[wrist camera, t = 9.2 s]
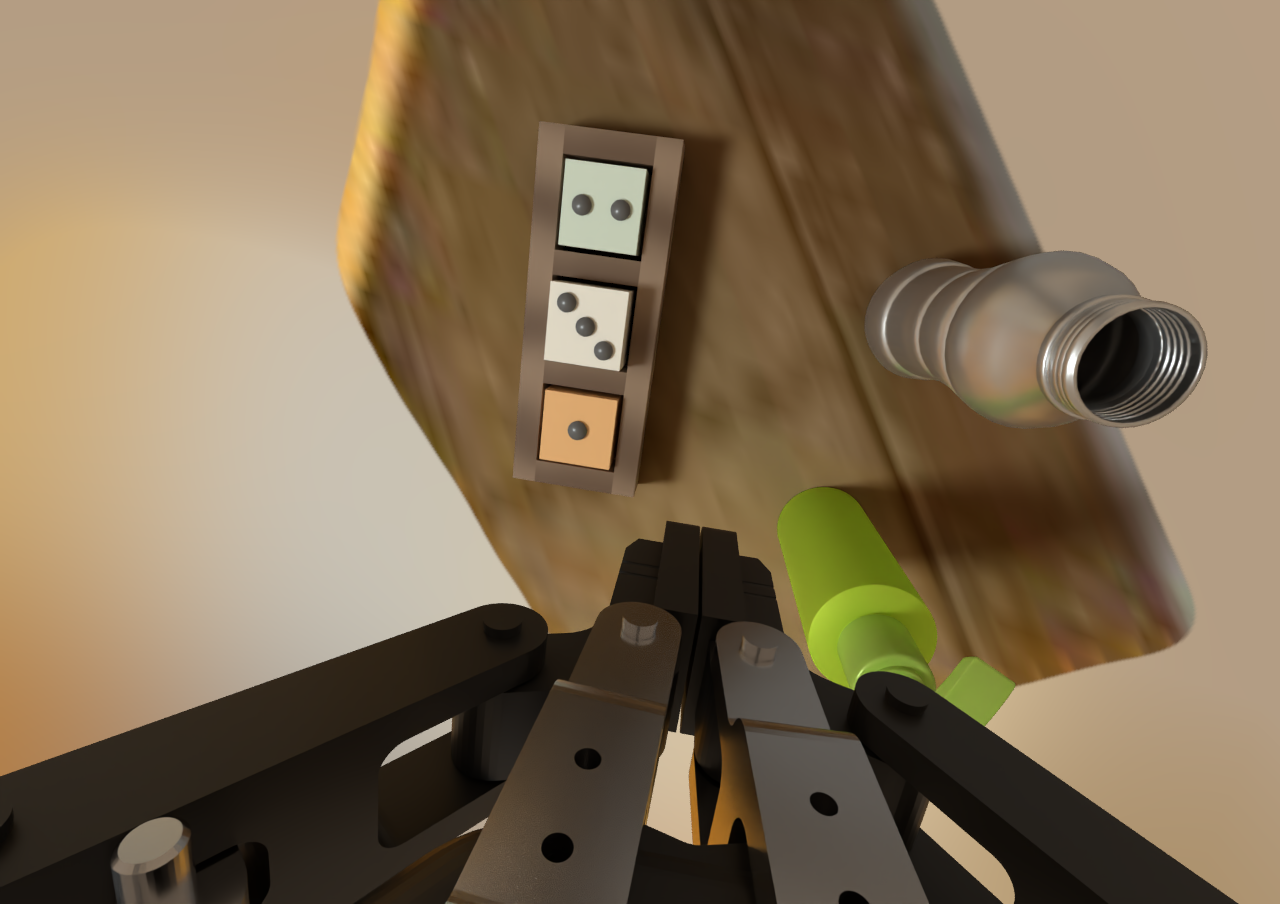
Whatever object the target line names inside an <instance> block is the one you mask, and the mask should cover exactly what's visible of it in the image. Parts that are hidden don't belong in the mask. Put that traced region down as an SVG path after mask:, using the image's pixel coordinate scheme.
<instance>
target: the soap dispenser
mask: <svg viewBox="0 0 1280 904" xmlns="http://www.w3.org/2000/svg"><path fill="white" fill-rule="evenodd" d="M777 532H778V538H779V542H780V545H781V549H782V553H783V556H784V560H785V564H786V567H787V571H788V575H789V578H790V582H791V586H792V589H793V593H794V597H795V600H796V604H797V608H798V611H799V615H800V619H801V622H802V626H803V630H804V634H805V637H806V641H807V645H808V648H809V652H810V655H811V658H812V660H813V662H814V664H815V665H816V667H817V668H818V669H819V671H820V672H821V673H822V674H823V675H824V676H825V677H826V678H828V679H829V680H830V681H832V682H834V683H837V684H839V685H842V686H844V687H847V688H850V689H852V690H854V688H855V685H856V682H857V680H858V678H859V677H860V676H862V675H863V674H865V673H869V672H874V671H885V672H892V673H896V674H900V675H903V676H906V677H909V678H911V679H914V680H916V681H918V682H920V683H922V684H924V685H925V686H927V687H929V688H930V689H932V690H933V691H935V692H936V693H937V694H939V695H940V696H942V697H943V698H945V699H946V700H947V701H949V702H950V703H952V704H953V705H955V706H956V707H957V708H959V709H960V710H962V711H963V712H965V713H966V714H968V715H969V716H970V717H972V718H973V719H975V720H976V721H978V722H979V723H980V724H982V725H983V726H985V725H986V724H987V723H988V722H989V721H990V720H991V718H992V717H993V716H994V715H995V714H996V712H997V711H998V710H999V709H1000V707H1001V706H1002V705H1003V703H1004V702H1005V701H1006V699H1007V698H1008V697H1009V695H1010V694H1011V692H1012V691H1013V689H1014V688H1015V683H1014V682H1013V681H1011V680H1010V679H1008V678H1007V677H1006V676H1004V675H1003V674H1001V673H1000V672H999V671H997V670H996V669H994V668H993V667H991V666H990V665H988V664H987V663H985V662H984V661H982V660H981V659H979V658H978V657H966V658H963V659H962V660H961V662H960V663H959V664H958V665H957V667H956V668H955V669H954V670H953V672H952V673H951V674H950V675H949V676H948V678H947V679H946V680H945V681H944V682H943V683H942V684H941V685H940V686H939V688H938V689H937V690H936V684H935V679H934V676H933V674H932V672H931V670H930V668H929V666H928V663H929V662H930V660H931V658H932V656H933V654H934V651H935V648H936V643H937V629H936V625H935V621H934V619H933V617H932V614H931V613H930V611H929V609H928V608H927V606H926V605H925V603H924V602H923V600H922V599H921V597H920V596H919V594H918V593H917V591H916V590H915V588H914V587H913V585H912V584H911V582H910V580H909V579H908V577H907V576H906V574H905V573H904V571H903V570H902V568H901V567H900V565H899V564H898V562H897V561H896V559H895V558H894V556H893V555H892V553H891V552H890V550H889V548H888V547H887V545H886V544H885V542H884V541H883V539H882V538H881V536H880V535H879V533H878V532H877V530H876V529H875V527H874V526H873V524H872V523H871V521H870V520H869V518H868V516H867V515H866V513H865V512H864V510H863V509H862V507H861V506H860V504H859V503H858V502H857V501H856V500H855V499H854V498H853V497H852V496H850V495H849V494H847V493H846V492H844V491H841V490H838V489H835V488H829V487H818V488H812V489H808V490H806V491H803V492H801V493H799V494H798V495H796V496H795V497H793V498H792V499H791V500H790V501H789V502H788V503H787V504H786V505H785V507H784V508H783V510H782V512H781V514H780V516H779V519H778V525H777Z"/></svg>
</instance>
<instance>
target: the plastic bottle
mask: <svg viewBox="0 0 1280 904" xmlns="http://www.w3.org/2000/svg"><path fill="white" fill-rule="evenodd" d="M865 334H866V339H867V342H868V344H869V347H870V349H871V351H872V353H873V354H874V356H875V357H876V359H877V360H878V361H879V362H880V363H881V364H882V365H883V366H884V367H885V368H886V369H887V370H889V371H891V372H892V373H894V374H896V375H899V376H902V377H905V378H912V379H921V380H932V379H933V380H937V381H940V382H942V383H943V384H945V385H947V386H948V387H949V388H950V389H951V390H952V391H953V392H954V393H955V394H956V395H957V396H958V397H959V398H960V399H961V400H962V401H963V402H964V403H965V404H967V405H968V406H969V407H970V408H971V409H972V410H974V411H975V412H977V413H978V414H980V415H981V416H983V417H985V418H987V419H988V420H990V421H992V422H994V423H997V424H1000V425H1004V426H1007V427H1014V428H1023V429H1026V428H1042V427H1055V426H1059V425H1063V424H1067V423H1071V422H1073V421H1075V420H1078V419H1082V420H1090V421H1092V422H1095V423H1098V424H1101V425H1104V426H1110V427H1119V428H1128V427H1137V426H1141V425H1145V424H1149V423H1151V422H1154V421H1156V420H1158V419H1160V418H1162V417H1164V416H1166V415H1167V414H1169V413H1171V412H1172V411H1174V410H1175V409H1176V408H1177V407H1178V406H1180V405H1181V404H1182V403H1183V402H1184V401H1185V400H1186V399H1187V398H1188V396H1189V395H1190V394H1191V393H1192V392H1193V390H1194V389H1195V387H1196V386H1197V384H1198V382H1199V381H1200V379H1201V376H1202V374H1203V371H1204V369H1205V365H1206V360H1207V341H1206V337H1205V333H1204V331H1203V329H1202V327H1201V325H1200V324H1199V322H1198V321H1197V320H1196V319H1195V318H1194V317H1193V316H1192V315H1191V314H1190V313H1189V312H1187V311H1186V310H1184V309H1182V308H1180V307H1178V306H1176V305H1173V304H1169V303H1166V302H1162V301H1152V300H1150V299H1147V298H1143V297H1141V296H1140V294H1139V292H1138V291H1137V289H1136V287H1135V285H1134V284H1133V283H1132V282H1131V281H1130V280H1129V279H1128V278H1127V277H1126V275H1125V274H1124V273H1122V272H1121V271H1119V270H1117V269H1116V268H1114V267H1113V266H1111V265H1109V264H1108V263H1106V262H1104V261H1102V260H1100V259H1099V258H1096V257H1093V256H1090V255H1087V254H1084V253H1081V252H1071V251H1054V252H1045V253H1040V254H1034V255H1029V256H1026V257H1023V258H1019V259H1016V260H1013V261H1011V262H1007V263H1005V264H1002V265H999V266H996V267H993V268H985V269H976V268H972V267H970V266H969V265H966V264H963V263H960V262H957V261H954V260H950V259H943V258H931V259H923V260H920V261H917V262H914V263H911V264H909V265H907V266H905V267H903V268H901V269H900V270H898V271H897V272H895V273H894V274H892V275H891V276H890V277H889V278H887V279H886V280H885V281H884V282H883V283H882V284H881V285H880V286H879V288H878V289H877V290H876V292H875V294H874V295H873V297H872V298H871V301H870V303H869V305H868V308H867V312H866V317H865Z"/></svg>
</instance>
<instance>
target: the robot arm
mask: <svg viewBox="0 0 1280 904" xmlns="http://www.w3.org/2000/svg"><path fill="white" fill-rule="evenodd" d="M680 708H681V722H680V733H682V734H688V735H693V736H694V749H693V754H692V759H691V765H690V769H689V789H690V805H691V821H692V839H693V845H692V844H688V843H685V842H683V841H680V840H678V839H676V838H674V837H671V836H669V835H667V834H665V833H662V832H660V831H658V830H656V829H654V828H651V827H649V826H647V825H646V824H647V819H648V813H649V808H650V803H651V798H652V793H653V787H654V782H655V777H656V772H657V766H658V761H659V757H660V756H661V754H662V753H663V751H664V749H665V745H666V739H667V734H668V731H671V732H676V730H677V724H678V719H679V714H680ZM450 718H452V731H451V732H449V733H447V734H445V735H443V736H441V737H439V738H437V739H435V740H433V741H431V742H429V743H427V744H425V745H423V746H421V747H419V748H417V749H415V750H413V751H411V752H409V753H408V754H405V755H403V756H401V757H399V758H397V759H395V760H393V761H391V762H390V763H387V764H385V765H384V766H382V767H381V765H382V763H383V761H384V760H385V758H386V757H387V756H388V754H389V753H390V752H391V751H392V750H393V749H394V748H395V747H396V746H397V745H399V744H400V743H402V742H403V741H405V740H407V739H409V738H411V737H413V736H415V735H417V734H419V733H421V732H423V731H425V730H428V729H430V728H432V727H434V726H436V725H438V724H440V723H442V722H444V721H446V720H448V719H450ZM929 801H930V802H932V803H933V804H934V805H935V806H936V807H937V808H939V809H940V810H941V811H942V812H943V813H944V814H946V815H947V816H948V817H949V818H950V819H951V820H953V821H954V822H955V823H956V824H957V825H958V826H959V827H961V828H962V829H963V830H964V831H965V832H967V833H968V834H969V835H970V836H971V837H972V838H974V839H975V840H976V841H977V842H978V843H979V844H980V845H982V846H983V847H984V848H985V849H986V850H987V851H989V852H990V853H991V854H992V855H993V856H994V857H995V858H996V859H997V860H998V861H999V862H1000V863H1001V864H1002V866H1003V867H1004V869H1005V870H1006V872H1007V873H1008V875H1009V877H1010V879H1011V881H1012V884H1013V887H1014V892H1015V901H1014V904H1238V903H1236V902H1235V901H1234V900H1232V899H1231V898H1229V897H1228V896H1227V895H1225V894H1224V893H1222V892H1221V891H1219V890H1218V889H1217V888H1215V887H1214V886H1212V885H1211V884H1209V883H1208V882H1206V881H1205V880H1203V879H1202V878H1201V877H1199V876H1198V875H1196V874H1195V873H1194V872H1192V871H1191V870H1189V869H1188V868H1187V867H1185V866H1184V865H1182V864H1181V863H1179V862H1178V861H1177V860H1175V859H1174V858H1172V857H1171V856H1169V855H1167V854H1166V853H1165V852H1163V851H1162V850H1161V849H1159V848H1158V847H1156V846H1155V845H1154V844H1152V843H1151V842H1149V841H1148V840H1146V839H1145V838H1144V837H1142V836H1141V835H1139V834H1138V833H1136V832H1135V831H1134V830H1132V829H1130V828H1129V827H1128V826H1126V825H1125V824H1124V823H1122V822H1120V821H1119V820H1118V819H1116V818H1115V817H1113V816H1112V815H1111V814H1109V813H1108V812H1106V811H1105V810H1103V809H1102V808H1101V807H1099V806H1098V805H1096V804H1095V803H1093V802H1092V801H1091V800H1089V799H1088V798H1086V797H1085V796H1083V795H1082V794H1080V793H1079V792H1078V791H1076V790H1075V789H1073V788H1072V787H1071V786H1069V785H1068V784H1066V783H1065V782H1063V781H1062V780H1060V779H1059V778H1057V777H1056V776H1055V775H1053V774H1052V773H1051V772H1049V771H1048V770H1046V769H1045V768H1043V767H1042V766H1040V765H1039V764H1037V763H1036V762H1035V761H1033V760H1032V759H1030V758H1029V757H1028V756H1026V755H1025V754H1023V753H1022V752H1020V751H1019V750H1018V749H1016V748H1014V747H1013V746H1012V745H1010V744H1009V743H1007V742H1006V741H1005V740H1003V739H1002V738H1000V737H999V736H998V735H996V734H995V733H993V732H992V731H990V730H989V729H988V728H986V727H985V726H983V725H982V724H980V723H979V722H978V721H976V720H975V719H973V718H972V717H970V716H969V715H968V714H966V713H965V712H963V711H962V710H960V709H959V708H957V707H956V706H955V705H953V704H952V703H950V702H949V701H947V700H946V699H945V698H943V697H942V696H940V695H939V694H937V693H936V692H935V691H933V690H932V689H930V688H929V687H927V686H925V685H924V684H922V683H920V682H918V681H916V680H914V679H911V678H909V677H906V676H903V675H900V674H896V673H892V672H885V671H874V672H869V673H865V674H863V675H862V676H860V677H859V678H858V680H857V682H856V685H855V688H854V690H852V689H850V688H847V687H844V686H842V685H839V684H837V683H834V682H832V681H829V680H827V679H824V678H822V677H820V676H818V675H816V674H814V673H813V672H811V671H810V670H808V668H807V665H806V662H805V659H804V657H803V654H802V652H801V650H800V648H799V646H798V645H797V644H796V643H795V642H794V641H793V640H792V639H791V638H790V637H789V636H787V635H786V634H784V632H783V627H782V623H781V618H780V613H779V609H778V604H777V600H776V595H775V590H774V589H773V581H772V576H771V572H770V571H769V570H768V569H767V568H766V567H765V566H764V565H763V563H762V562H761V561H760V560H759V559H757V558H751V557H745V556H739V550H738V542H737V534H736V532H732V531H726V530H720V529H714V528H708V527H702V530H701V534H700V526H695V525H689V524H683V523H677V522H671V521H667V522H666V528H665V535H664V541H663V543H662V542H656V541H650V540H644V539H638V540H636V541H635V542H633V543H632V544H631V545H629V546H628V547H626V550H625V553H624V557H623V561H622V564H621V568H620V571H619V575H618V578H617V582H616V585H615V589H614V592H613V596H612V599H611V603H610V606H608V607H606V608H605V609H603V610H602V611H601V612H600V614H599V615H598V617H597V619H596V621H595V624H594V626H593V627H592V628H589V629H587V630H583V631H579V632H574V633H558V634H548V626H547V623H546V621H545V620H544V618H543V617H542V616H541V615H540V614H538V613H537V612H535V611H534V610H532V609H529V608H527V607H524V606H520V605H516V604H507V603H498V604H489V605H484V606H480V607H477V608H474V609H471V610H469V611H466V612H463V613H460V614H457V615H455V616H452V617H449V618H446V619H443V620H440V621H437V622H435V623H432V624H429V625H426V626H423V627H421V628H418V629H415V630H412V631H410V632H406V633H404V634H401V635H398V636H395V637H392V638H390V639H387V640H384V641H381V642H378V643H375V644H373V645H370V646H367V647H364V648H361V649H359V650H356V651H353V652H350V653H347V654H344V655H342V656H339V657H336V658H333V659H330V660H328V661H325V662H322V663H319V664H316V665H313V666H311V667H308V668H305V669H302V670H299V671H296V672H294V673H291V674H288V675H285V676H283V677H280V678H277V679H274V680H271V681H268V682H265V683H263V684H260V685H257V686H254V687H252V688H249V689H246V690H243V691H240V692H238V693H235V694H232V695H229V696H226V697H223V698H220V699H218V700H215V701H212V702H209V703H206V704H203V705H201V706H198V707H195V708H192V709H189V710H187V711H184V712H181V713H178V714H176V715H172V716H170V717H167V718H164V719H161V720H158V721H155V722H153V723H150V724H147V725H144V726H142V727H139V728H136V729H133V730H130V731H127V732H125V733H122V734H119V735H116V736H113V737H110V738H108V739H105V740H102V741H99V742H96V743H93V744H91V745H88V746H85V747H82V748H80V749H77V750H74V751H71V752H68V753H65V754H63V755H60V756H57V757H54V758H51V759H48V760H45V761H43V762H40V763H37V764H35V765H31V766H29V767H26V768H23V769H20V770H17V771H15V772H12V773H9V774H6V775H3V776H0V904H1003V903H1002V902H1001V901H1000V900H999V899H998V898H996V897H995V896H994V895H993V894H992V893H991V892H990V891H989V890H988V889H987V888H985V887H984V886H983V885H982V884H981V883H980V882H979V881H978V880H977V879H976V878H974V877H973V876H972V875H971V874H970V873H969V872H968V871H967V870H966V869H964V868H963V867H962V866H961V865H960V864H959V863H958V862H957V861H956V860H955V859H954V858H953V857H952V856H950V855H949V854H948V853H947V852H946V851H945V850H944V849H943V848H941V847H940V846H939V845H938V844H937V843H936V842H935V841H934V840H933V839H932V838H931V837H930V836H929V835H927V834H926V833H925V832H924V831H923V830H922V829H921V828H920V825H921V822H922V820H923V817H924V814H925V811H926V808H927V806H928V803H929ZM487 817H488V819H487V821H486V823H485V826H484V828H482V829H478V830H475V831H472V832H469V833H467V834H464V835H462V836H459V835H461V834H462V833H464V832H465V831H467V830H469V829H470V828H471V827H473V826H475V825H476V824H477V823H479V822H481V821H482V820H484V819H485V818H487ZM458 836H459V837H458ZM456 837H457V838H456Z"/></svg>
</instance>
